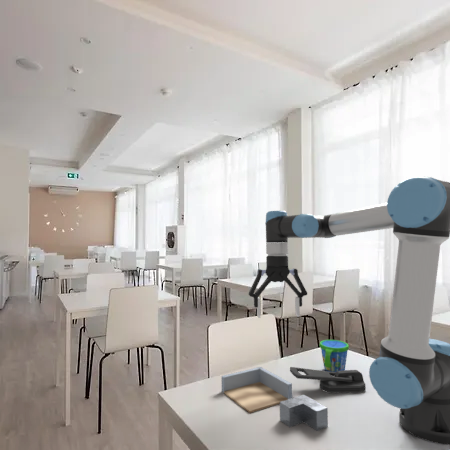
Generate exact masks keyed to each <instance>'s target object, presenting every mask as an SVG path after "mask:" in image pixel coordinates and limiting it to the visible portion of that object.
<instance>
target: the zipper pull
mask: <svg viewBox="0 0 450 450" xmlns="http://www.w3.org/2000/svg"><path fill="white" fill-rule="evenodd" d="M289 371H290V373H291V374H292V375H293V376H294V378H296V379H299V380H317V381H319V380H320V381H319V388H320V389H321V390H322V391H323V392H326V393H329V394H348V393H349V394H351V393H353V394H354V393H355V394H357V393H358V394H361V393H363V392H365V391H366V390H367V388H366V383H365V380H364V376H363V374H362V372H360V371H359V370H357V369H350V370H349V369H347V370H346V369H345V370H342V371H337V372H329V371H327V370H319V369H312V368H311V369H310V368H302V367H295V366H290V368H289ZM302 373H303V374H302Z"/></svg>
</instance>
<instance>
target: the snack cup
mask: <svg viewBox="0 0 450 450" xmlns="http://www.w3.org/2000/svg"><path fill="white" fill-rule="evenodd" d="M319 348H320V350H321V357H322V362H323V368H324V371H329V372H337V371H342V370H346V364H347V357H348V352H349V348H350V346H349V343H347V342H345V341H343V340H337V339H324V340H321V341H320V342H319Z"/></svg>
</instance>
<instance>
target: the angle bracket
mask: <svg viewBox="0 0 450 450" xmlns="http://www.w3.org/2000/svg"><path fill="white" fill-rule="evenodd" d="M328 413H329V412H328V407H327V406H325V405H324V404H321V403H320V402H318V401H316V399H313V398H311V397H310V396H307V395H305V394H302V395H298V396H295V397H292V398H291V399H288V400H284V401H281V402H280V404H279V421H280V422H282V423H283V424H285V426H287V427H289V428H291V427H293V426H296V425H300V424H302V423H304V424H305V425H307V426H308V427H310V428H311V429H313V430H315V431H316V432H318V431H321V430H323V429H326V428H329V425H328V424H329V422H328V421H329V419H328V417H329V416H328Z"/></svg>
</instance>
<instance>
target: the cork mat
mask: <svg viewBox="0 0 450 450" xmlns="http://www.w3.org/2000/svg"><path fill="white" fill-rule="evenodd" d="M223 394H224V395H226V397H228V398H230V399H231V400H232V401H233V402H235V403H236V404H237V405H239V406H240V408H242V409H243V410H245V411H247V412H248V413H249V414H252V413H254V412H257V411H262V410H264V409H267V408H271V407H274V406H277V405H280V402H281V401H284V400H288V399H287V398H286V397H284V396H283V395H281V394H279V393H278V392H276V391H274V390H273V389H271V388H269V387H268V386H266V385H264V384H263V383H261V382H257V383H253V384H250V385H246V386H242V387H238V388H234V389H231V390H227V391H224V393H223Z"/></svg>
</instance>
